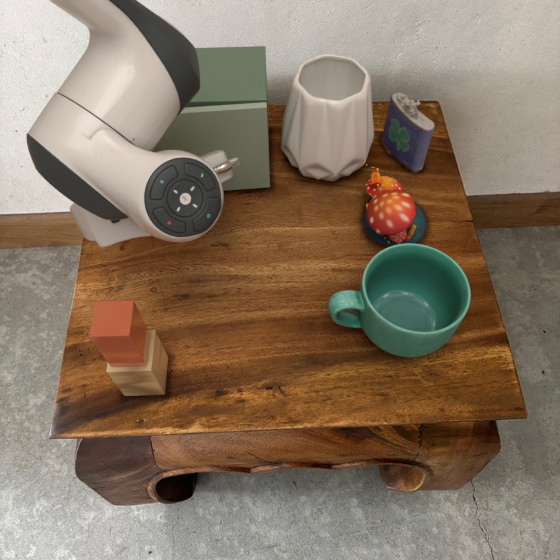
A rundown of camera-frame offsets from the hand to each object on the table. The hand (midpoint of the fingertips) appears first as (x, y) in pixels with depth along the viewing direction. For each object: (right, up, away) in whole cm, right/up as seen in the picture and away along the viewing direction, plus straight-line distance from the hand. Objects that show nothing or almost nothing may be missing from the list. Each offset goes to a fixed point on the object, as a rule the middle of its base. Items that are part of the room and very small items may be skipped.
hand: (147, 190), depth 75 cm
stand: (+1, -24, -6) cm, 25 cm away
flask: (+37, +8, +13) cm, 40 cm away
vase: (+25, +7, +13) cm, 30 cm away
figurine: (+35, -4, +6) cm, 35 cm away
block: (+1, -20, -13) cm, 24 cm away
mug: (+32, -18, -2) cm, 37 cm away
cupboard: (+6, +7, +13) cm, 16 cm away
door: (+7, -1, +8) cm, 10 cm away
